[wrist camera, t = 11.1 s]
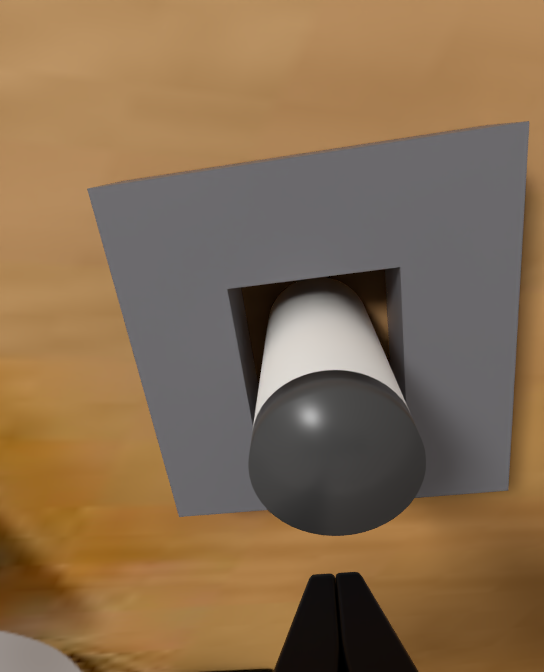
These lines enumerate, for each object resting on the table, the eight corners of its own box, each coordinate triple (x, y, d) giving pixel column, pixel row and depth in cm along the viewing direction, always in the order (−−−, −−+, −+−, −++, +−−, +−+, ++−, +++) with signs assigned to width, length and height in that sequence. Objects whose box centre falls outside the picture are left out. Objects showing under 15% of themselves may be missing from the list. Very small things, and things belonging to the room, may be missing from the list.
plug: (370, 363, 19) (427, 528, 11) (276, 374, 20) (262, 541, 12) (363, 270, 18) (423, 381, 10) (261, 284, 18) (234, 402, 10)
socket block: (479, 443, 21) (508, 490, 18) (193, 469, 22) (179, 516, 19) (488, 125, 16) (529, 121, 13) (121, 181, 17) (87, 188, 14)
